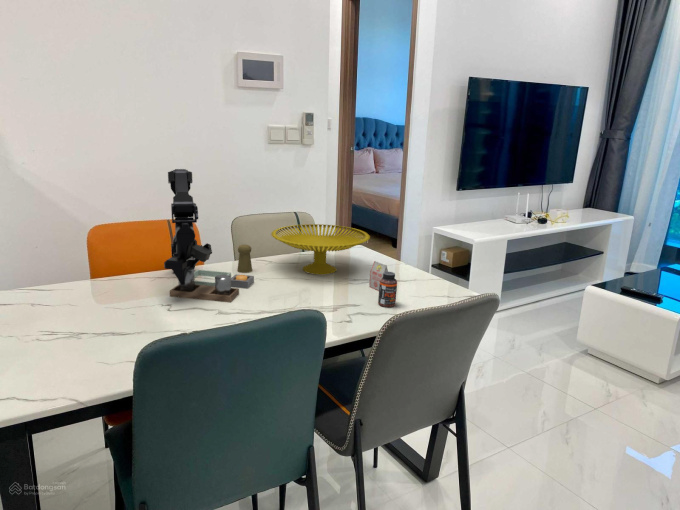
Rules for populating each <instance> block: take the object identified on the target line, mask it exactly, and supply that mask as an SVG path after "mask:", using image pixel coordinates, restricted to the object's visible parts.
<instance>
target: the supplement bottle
mask: <svg viewBox="0 0 680 510" xmlns="http://www.w3.org/2000/svg"><path fill="white" fill-rule="evenodd" d="M397 290H398V280H397V279H396V273H395V272H393V271H388V272H384V273H383V278H381V279H380V284H379V291H378V299H377V303H378V305H379V306H380V307H384V308H392V307H395V306H396V303H397V302H396V300H397Z"/></svg>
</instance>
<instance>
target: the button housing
mask: <svg viewBox="0 0 680 510" xmlns="http://www.w3.org/2000/svg"><path fill="white" fill-rule="evenodd" d="M237 275H238V274H237V273H236V274H234V275H233V276H231V288H238V289H249V288H250V287H251V286H252V285H253V284H254V283H255V275H247V274H245V275H246V276H247V280H246V281H244V280H236V276H237Z"/></svg>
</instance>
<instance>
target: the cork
mask: <svg viewBox="0 0 680 510" xmlns="http://www.w3.org/2000/svg"><path fill="white" fill-rule="evenodd" d="M237 251H238V253H239V254H238V262H237V270H236V271H237V272H238V273H241V274H249V273H252V272H253V266H252V259H251V252H252V246H251V245H249V244H240V245H239V246H238V247H237Z"/></svg>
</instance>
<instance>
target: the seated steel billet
mask: <svg viewBox="0 0 680 510" xmlns="http://www.w3.org/2000/svg"><path fill="white" fill-rule="evenodd" d="M231 278H232V275H231V276H229V275H218V276H216V277H214V282H215V294H216V295H227V296H230V295H231V288H232V287H231Z"/></svg>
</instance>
